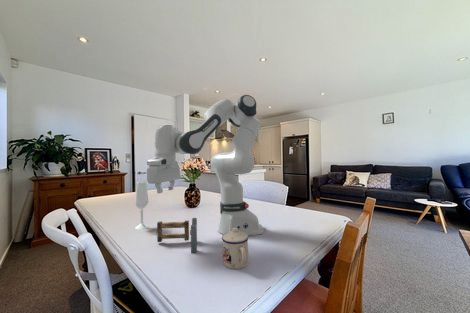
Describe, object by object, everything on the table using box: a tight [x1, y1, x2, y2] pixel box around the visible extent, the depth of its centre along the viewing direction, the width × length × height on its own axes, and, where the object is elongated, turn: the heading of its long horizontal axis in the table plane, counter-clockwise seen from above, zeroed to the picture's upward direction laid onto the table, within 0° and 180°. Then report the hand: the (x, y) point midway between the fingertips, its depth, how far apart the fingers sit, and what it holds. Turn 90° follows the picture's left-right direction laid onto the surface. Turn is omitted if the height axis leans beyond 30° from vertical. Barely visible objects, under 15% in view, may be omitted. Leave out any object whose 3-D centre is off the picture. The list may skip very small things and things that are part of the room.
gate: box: [156, 220, 190, 243], centre depth 84 cm, size 13×3×8 cm, turn 94°
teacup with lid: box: [221, 228, 249, 270], centre depth 66 cm, size 12×9×12 cm
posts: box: [189, 217, 198, 254], centre depth 80 cm, size 3×11×10 cm, turn 4°
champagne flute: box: [134, 181, 149, 230], centre depth 105 cm, size 7×7×24 cm
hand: (165, 191), depth 89 cm, fingers open, 7 cm apart
